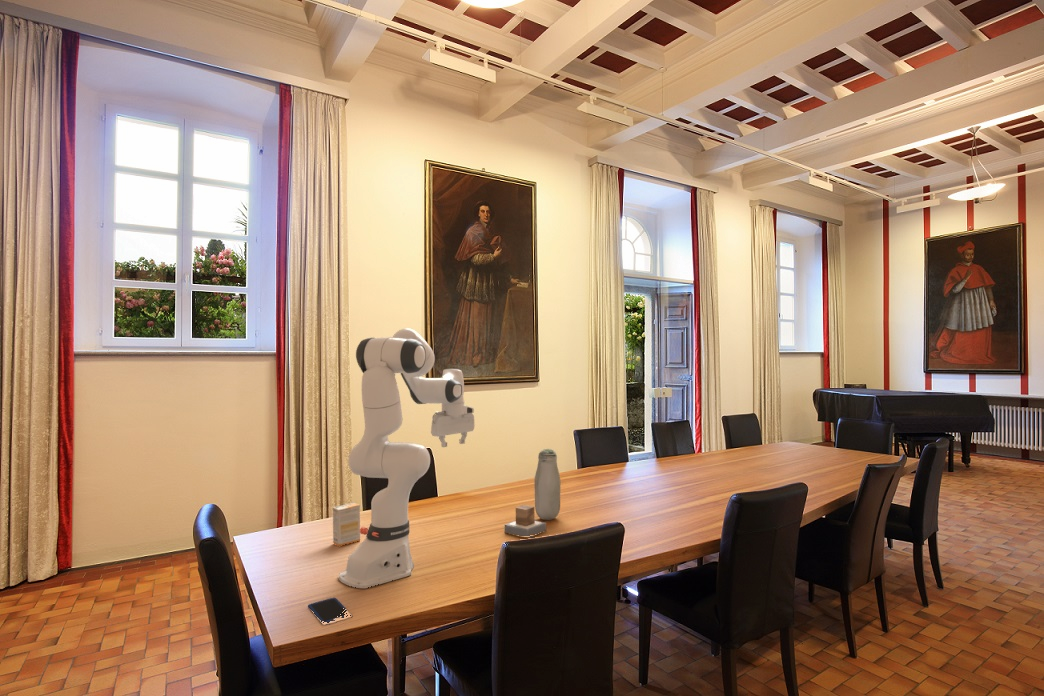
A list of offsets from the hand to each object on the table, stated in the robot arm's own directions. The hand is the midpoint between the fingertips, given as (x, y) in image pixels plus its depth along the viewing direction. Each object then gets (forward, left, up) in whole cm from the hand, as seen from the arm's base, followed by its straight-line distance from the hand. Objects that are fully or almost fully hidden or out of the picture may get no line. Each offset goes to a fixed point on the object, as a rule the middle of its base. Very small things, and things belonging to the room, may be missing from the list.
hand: (453, 445), depth 209 cm
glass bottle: (+29, -24, -31) cm, 49 cm away
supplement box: (-37, +16, -31) cm, 51 cm away
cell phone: (-69, -27, -32) cm, 81 cm away
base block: (+11, -27, -31) cm, 43 cm away
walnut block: (+11, -27, -28) cm, 40 cm away
